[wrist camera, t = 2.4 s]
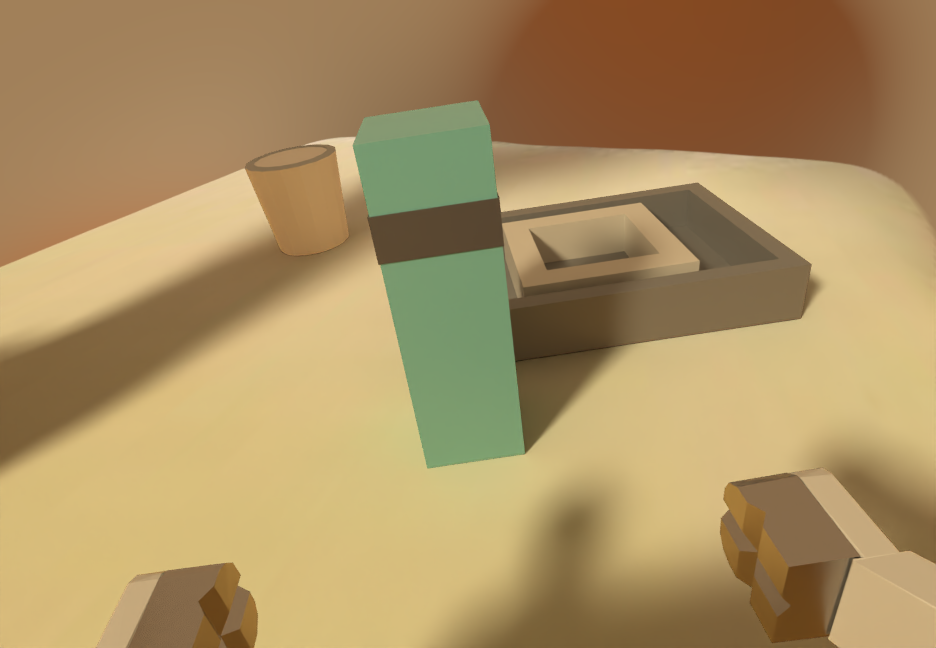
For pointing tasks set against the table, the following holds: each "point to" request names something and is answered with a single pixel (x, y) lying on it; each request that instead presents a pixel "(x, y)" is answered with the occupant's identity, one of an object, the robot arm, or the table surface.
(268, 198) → the beige cylinder
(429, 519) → the table surface
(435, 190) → the plug
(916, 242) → the table surface
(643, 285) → the grey tray
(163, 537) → the table surface
